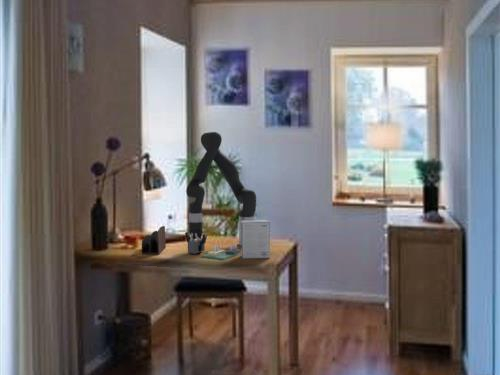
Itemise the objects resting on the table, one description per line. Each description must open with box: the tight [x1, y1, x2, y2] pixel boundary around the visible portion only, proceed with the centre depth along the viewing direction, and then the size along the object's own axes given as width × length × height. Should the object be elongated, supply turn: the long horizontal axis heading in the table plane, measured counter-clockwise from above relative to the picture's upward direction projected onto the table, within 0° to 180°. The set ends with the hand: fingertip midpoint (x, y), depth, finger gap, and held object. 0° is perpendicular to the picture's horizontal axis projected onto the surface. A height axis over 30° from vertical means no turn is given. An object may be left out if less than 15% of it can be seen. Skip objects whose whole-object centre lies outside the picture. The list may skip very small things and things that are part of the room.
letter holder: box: [141, 225, 167, 256], centre depth 377 cm, size 10×20×14 cm, turn 176°
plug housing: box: [187, 239, 206, 254], centre depth 373 cm, size 10×5×6 cm, turn 150°
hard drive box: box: [241, 219, 271, 259], centre depth 362 cm, size 16×8×20 cm, turn 92°
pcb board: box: [201, 243, 242, 261], centre depth 367 cm, size 18×14×6 cm
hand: (196, 250), depth 373 cm, fingers closed on plug housing, 4 cm apart
